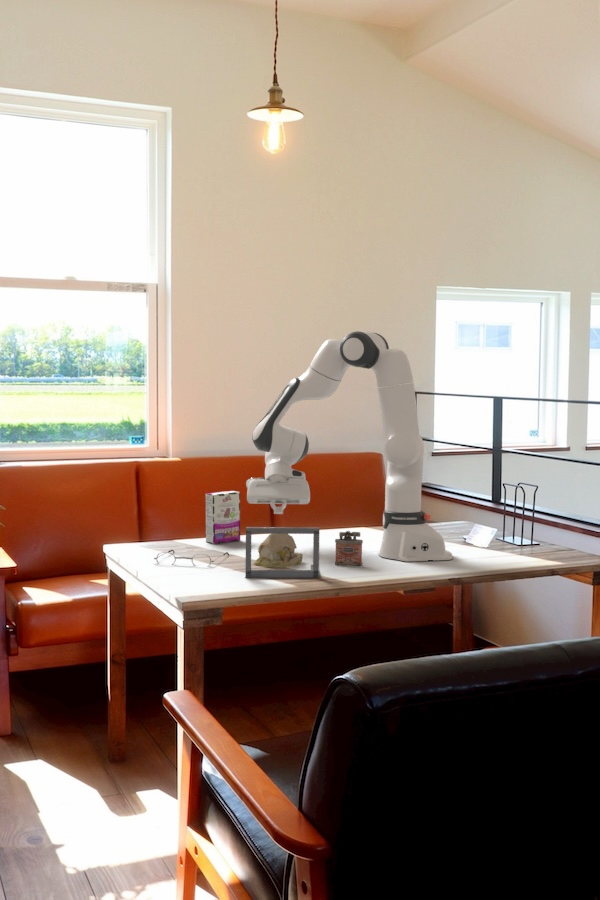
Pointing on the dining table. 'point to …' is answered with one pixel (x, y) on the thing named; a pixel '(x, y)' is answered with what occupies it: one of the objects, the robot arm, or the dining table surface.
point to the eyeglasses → (187, 557)
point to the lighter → (348, 549)
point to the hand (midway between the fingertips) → (278, 512)
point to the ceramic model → (278, 551)
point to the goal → (283, 573)
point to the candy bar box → (222, 517)
